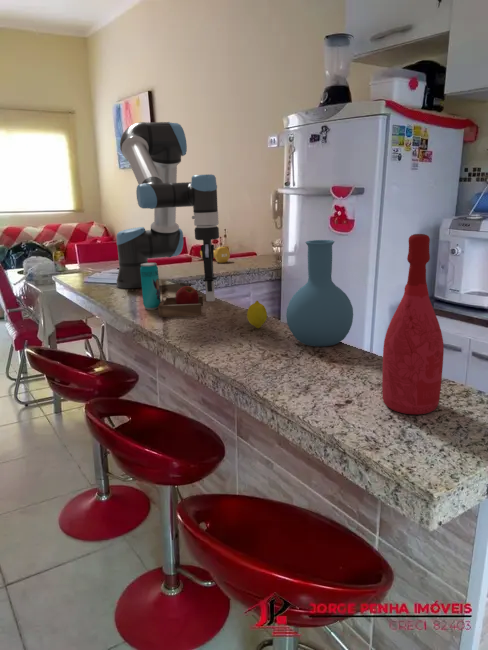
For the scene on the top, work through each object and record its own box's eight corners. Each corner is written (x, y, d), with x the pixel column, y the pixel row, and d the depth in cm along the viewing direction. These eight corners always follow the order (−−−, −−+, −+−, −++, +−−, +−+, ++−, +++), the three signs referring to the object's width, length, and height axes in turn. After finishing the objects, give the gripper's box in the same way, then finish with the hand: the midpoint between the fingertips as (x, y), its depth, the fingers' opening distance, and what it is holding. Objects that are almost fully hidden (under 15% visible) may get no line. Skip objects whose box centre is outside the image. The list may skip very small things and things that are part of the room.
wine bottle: (416, 423, 83) (427, 238, 75) (369, 404, 90) (375, 234, 82) (451, 406, 88) (465, 233, 80) (404, 390, 96) (412, 230, 88)
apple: (175, 313, 161) (173, 289, 158) (176, 307, 168) (175, 284, 166) (199, 312, 161) (197, 287, 159) (199, 306, 169) (198, 283, 167)
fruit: (244, 327, 142) (243, 299, 140) (262, 324, 144) (261, 297, 142) (251, 332, 137) (250, 303, 135) (270, 329, 139) (269, 301, 137)
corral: (164, 307, 170) (163, 297, 169) (203, 305, 170) (202, 295, 169) (159, 317, 157) (158, 306, 156) (201, 315, 157) (200, 304, 156)
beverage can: (157, 310, 166) (153, 265, 162) (141, 310, 167) (136, 265, 163) (163, 306, 171) (160, 262, 167) (147, 306, 172) (143, 262, 168)
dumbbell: (231, 262, 267) (231, 246, 264) (217, 264, 262) (216, 248, 260) (213, 258, 282) (212, 243, 280) (199, 260, 277) (198, 245, 275)
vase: (360, 335, 131) (363, 238, 124) (342, 354, 117) (343, 246, 110) (300, 329, 138) (300, 237, 132) (276, 346, 124) (274, 244, 118)
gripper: (195, 225, 163) (200, 296, 169) (192, 228, 150) (197, 305, 156) (219, 224, 163) (222, 296, 169) (217, 227, 150) (221, 304, 156)
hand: (210, 300), depth 163 cm, fingers closed
